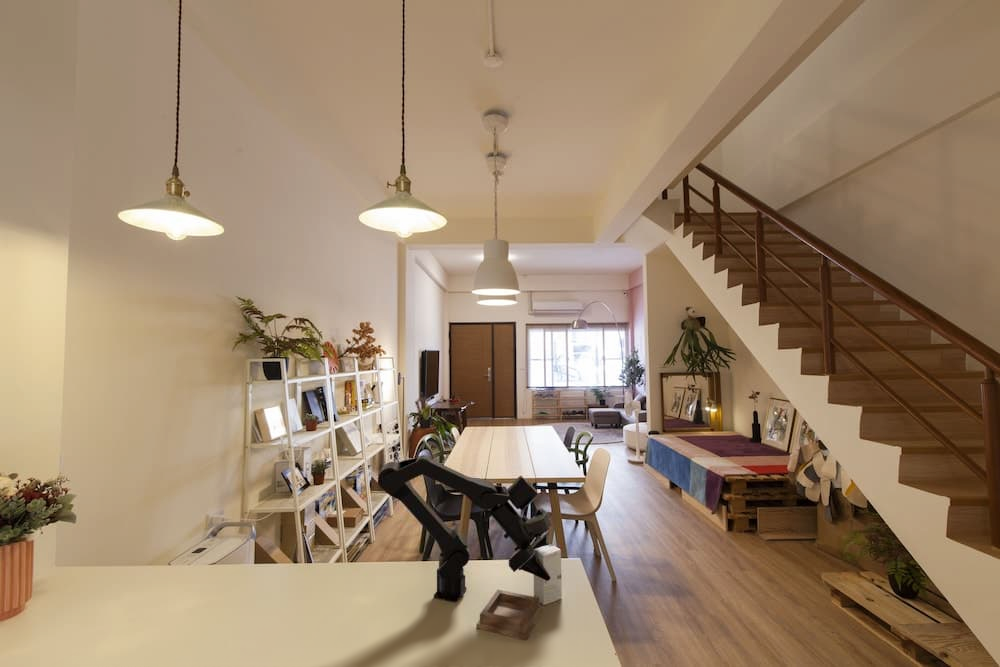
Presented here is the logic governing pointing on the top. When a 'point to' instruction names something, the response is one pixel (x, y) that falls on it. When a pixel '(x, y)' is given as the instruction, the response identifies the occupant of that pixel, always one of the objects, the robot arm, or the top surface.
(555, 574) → the skincare box
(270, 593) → the top surface
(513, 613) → the walnut holder
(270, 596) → the top surface
